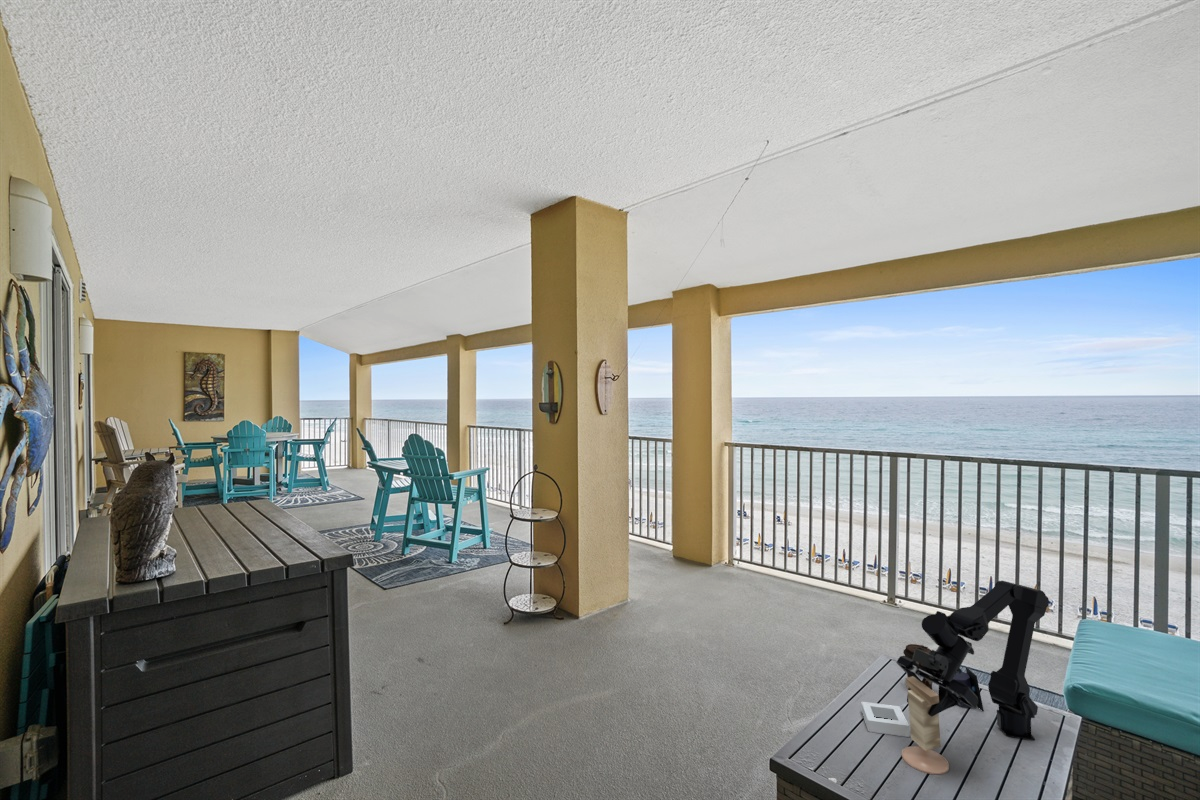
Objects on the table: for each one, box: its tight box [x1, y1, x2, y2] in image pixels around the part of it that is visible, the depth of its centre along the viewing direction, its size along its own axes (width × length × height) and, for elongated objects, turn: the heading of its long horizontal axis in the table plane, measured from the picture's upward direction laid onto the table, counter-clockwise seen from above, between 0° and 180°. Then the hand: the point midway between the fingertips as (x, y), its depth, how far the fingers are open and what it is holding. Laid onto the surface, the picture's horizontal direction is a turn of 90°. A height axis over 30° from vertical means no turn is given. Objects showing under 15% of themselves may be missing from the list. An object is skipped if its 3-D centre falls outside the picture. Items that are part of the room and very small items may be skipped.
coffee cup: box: [902, 643, 933, 690], centre depth 166 cm, size 9×8×13 cm
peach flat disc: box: [901, 745, 950, 775], centre depth 132 cm, size 10×10×1 cm
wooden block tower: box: [905, 676, 942, 751], centre depth 132 cm, size 4×8×15 cm, turn 11°
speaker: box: [953, 667, 985, 712], centre depth 158 cm, size 8×6×10 cm
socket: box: [860, 701, 910, 738], centre depth 148 cm, size 10×10×3 cm
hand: (918, 709), depth 132 cm, fingers closed on wooden block tower, 6 cm apart
